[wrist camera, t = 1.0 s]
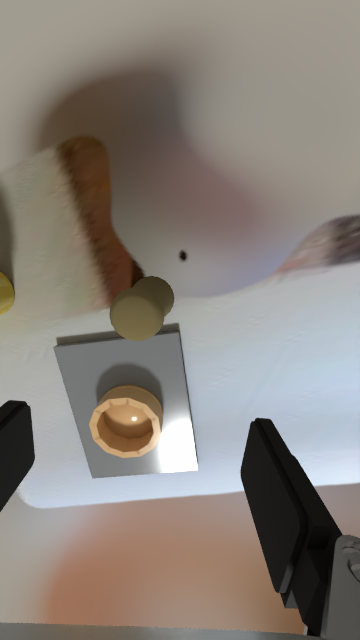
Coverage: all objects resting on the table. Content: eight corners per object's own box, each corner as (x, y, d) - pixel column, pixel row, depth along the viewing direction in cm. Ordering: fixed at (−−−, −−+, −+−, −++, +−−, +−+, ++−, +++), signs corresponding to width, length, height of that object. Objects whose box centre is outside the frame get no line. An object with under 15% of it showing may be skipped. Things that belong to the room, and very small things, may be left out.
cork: (121, 302, 31) (87, 324, 20) (146, 266, 29) (123, 270, 19) (157, 328, 31) (142, 362, 21) (183, 294, 30) (181, 312, 19)
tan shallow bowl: (157, 381, 32) (154, 394, 29) (167, 437, 35) (165, 454, 32) (91, 387, 33) (81, 401, 30) (106, 442, 36) (98, 460, 32)
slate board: (178, 330, 31) (178, 332, 30) (197, 464, 37) (197, 470, 37) (57, 344, 33) (53, 347, 32) (94, 472, 39) (92, 478, 38)
